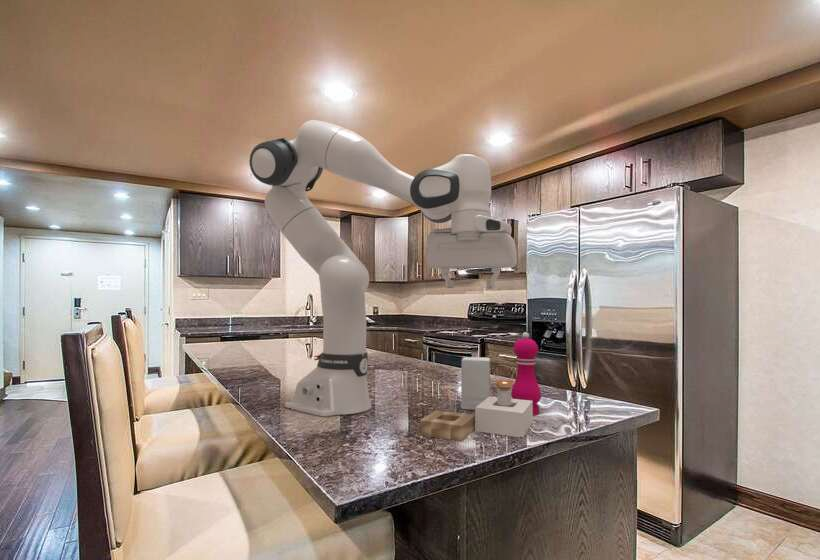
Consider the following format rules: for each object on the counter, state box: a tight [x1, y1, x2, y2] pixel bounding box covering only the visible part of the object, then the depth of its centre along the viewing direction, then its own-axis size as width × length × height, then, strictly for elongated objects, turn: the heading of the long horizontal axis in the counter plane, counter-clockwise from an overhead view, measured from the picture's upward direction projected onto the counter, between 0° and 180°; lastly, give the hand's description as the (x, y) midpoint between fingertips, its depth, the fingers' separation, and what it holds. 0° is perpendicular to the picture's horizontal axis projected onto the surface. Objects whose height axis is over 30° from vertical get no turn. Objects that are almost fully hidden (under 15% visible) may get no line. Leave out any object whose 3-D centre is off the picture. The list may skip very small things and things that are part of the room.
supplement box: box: [460, 356, 491, 411], centre depth 112 cm, size 7×7×13 cm
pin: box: [495, 379, 514, 407], centre depth 94 cm, size 4×4×10 cm
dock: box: [474, 395, 534, 439], centre depth 94 cm, size 10×12×5 cm
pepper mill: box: [511, 331, 542, 416], centre depth 107 cm, size 7×7×20 cm
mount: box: [419, 409, 475, 442], centre depth 90 cm, size 9×9×3 cm
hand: (469, 288), depth 95 cm, fingers open, 8 cm apart
